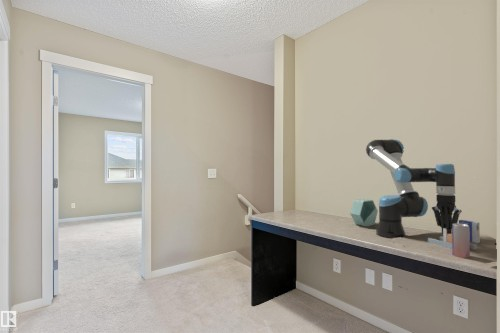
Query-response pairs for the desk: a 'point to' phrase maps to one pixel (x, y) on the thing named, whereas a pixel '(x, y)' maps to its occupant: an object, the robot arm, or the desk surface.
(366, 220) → the teal faceted polyhedron
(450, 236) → the block
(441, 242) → the chute
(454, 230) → the beverage can
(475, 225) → the walkman
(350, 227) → the desk surface
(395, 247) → the desk surface
